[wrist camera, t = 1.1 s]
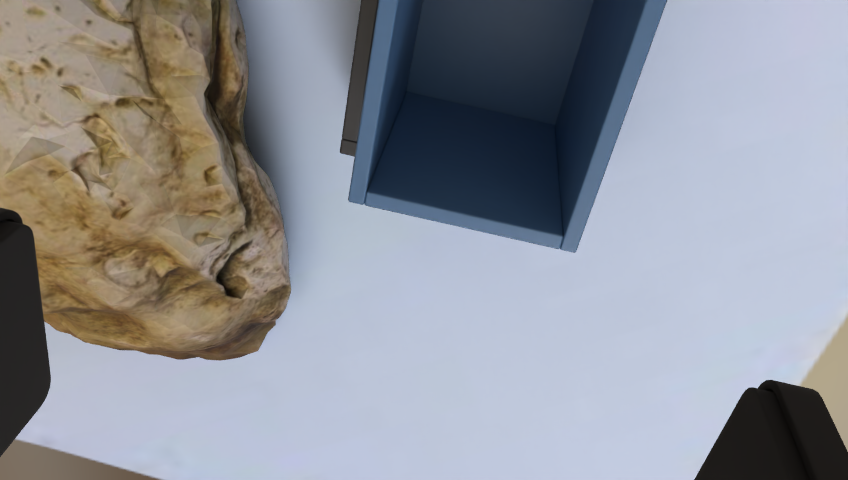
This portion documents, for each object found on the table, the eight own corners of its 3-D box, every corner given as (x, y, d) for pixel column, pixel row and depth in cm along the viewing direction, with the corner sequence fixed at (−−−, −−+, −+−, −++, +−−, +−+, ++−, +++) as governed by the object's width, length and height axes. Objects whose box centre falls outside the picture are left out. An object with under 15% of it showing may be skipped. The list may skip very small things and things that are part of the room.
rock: (-54, 480, 33) (-630, -397, 16) (41, 335, 41) (-277, -358, 24) (298, 475, 32) (86, -450, 15) (326, 329, 40) (208, -391, 23)
